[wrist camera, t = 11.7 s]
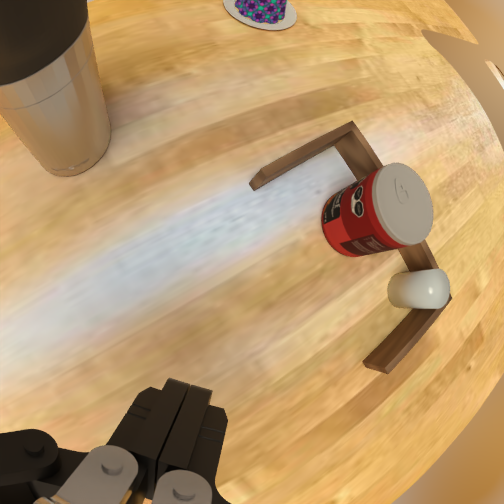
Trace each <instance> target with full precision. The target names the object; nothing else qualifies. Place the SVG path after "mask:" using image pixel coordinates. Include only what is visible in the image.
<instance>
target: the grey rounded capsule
mask: <svg viewBox="0 0 504 504" xmlns="http://www.w3.org/2000/svg"><path fill="white" fill-rule="evenodd" d="M449 294H450V283H449V279H448V277H447V275H446V273H445V272H444V271H443V270H441V269H431V270H422V271H414V272H405V273H398V274H395V275H394V276H393V277H392V278H391V279H390V281H389V284H388V298H389V300H390V302H391V304H392V305H393V306H394V307H396V308H419V309H439V308H442V307H443V306H444V305H445V304H446V303H447V301H448V298H449Z"/></svg>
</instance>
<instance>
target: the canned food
mask: <svg viewBox="0 0 504 504" xmlns="http://www.w3.org/2000/svg"><path fill="white" fill-rule="evenodd" d="M432 224H433V206H432V201H431V197H430V194H429V192H428V189H427V187H426V186H425V184H424V182H423V181H422V179H421V178H420V176H419V175H418V174H417V173H416V172H415V171H414V170H412V169H411V168H410V167H408V166H406V165H404V164H401V163H391V164H388V165H386V166H383V167H381V168H380V169H377V170H376V171H374V172H372V173H370V174H369V175H367V176H365V177H363V178H362V179H360V180H358V181H356V182H355V183H353V184H351V185H350V186H348V187H346V188H344V189H343V190H341V191H339V192H337V193H336V194H334V195H333V196H331V198H330V199H329V200H328V201H327V203H326V205H325V207H324V209H323V213H322V228H323V232H324V234H325V237H326V239H327V241H328V242H329V244H330V245H331V246H332V247H333V248H334V249H335V250H336V251H338V252H339V253H341V254H344V255H346V256H350V257H358V256H363V255H369V254H374V253H379V252H384V251H389V250H394V249H399V248H403V247H407V246H412V245H415V244H417V243H420V242H422V241H423V240H425V238H426V237H427V236H428V235H429V233H430V231H431V227H432Z"/></svg>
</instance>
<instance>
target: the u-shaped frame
mask: <svg viewBox="0 0 504 504" xmlns="http://www.w3.org/2000/svg"><path fill="white" fill-rule="evenodd" d="M333 145H334V146H335V147H336V149H337V150H338V151H339V153H340V154H341V156H342V157H343V159H344V160H345V162H346V163H347V165H348V166H349V168H350V169H351V171H352V172H353V174H354V175H355V177H356V179H357V180H360V179H362V178H363V177H365V176H367V175H369V174H370V173H372V172H374V171H376V170H377V169H380V168H381V167H383V165H382V163H381V162H380V160H379V159H378V157H377V156H376V154H375V153H374V151H373V149H372V148H371V146H370V145H369V143H368V142H367V141H366V139H365V138H364V136H363V135H362V133H361V132H360V130H359V129H358V128H357V126H356V125H355V123H354V122H353V121H351V122H349V123H347V124H345V125H343V126H341V127H339V128H337V129H335V130H333V131H331V132H329V133H327V134H325V135H323V136H321V137H319V138H317V139H315V140H313V141H311V142H309V143H307V144H306V145H304V146H302V147H300V148H298V149H296V150H294V151H292V152H291V153H289V154H287V155H285V156H283V157H281V158H279V159H278V160H276V161H274V162H272V163H270V164H269V165H267V166H265V167H263V168H261V169H260V171H259V172H258V173H257V174H256V175H255V177H254V178H253V179H252V180H251V181H250V183H249V185H250V186H251V187H252V189H253V190H254V191H255V190H256V189H258V188H260V187H262V186H263V185H265V184H267V183H268V182H270V181H272V180H273V179H275V178H277V177H279V176H280V175H282V174H284V173H285V172H287V171H289V170H291V169H292V168H294V167H296V166H298V165H299V164H301V163H303V162H305V161H306V160H308V159H310V158H312V157H313V156H315V155H317V154H319V153H321V152H322V151H324V150H326V149H328V148H330V147H331V146H333ZM398 250H399V252H400V253H401V255H402V257H403V259H404V261H405V263H406V265H407V267H408V269H409V271H410V272H414V271H422V270H431V269H439V267H438V265H437V263H436V261H435V259H434V257H433V255H432V253H431V251H430V249H429V247H428V245H427V243H426V241H425V240H423V241H422V242H420V243H417V244H415V245H412V246H407V247H403V248H399V249H398ZM451 299H452V297H451V294H449V298H448V301H447V303H446V304H445V305H444V306H443V307H442V308H439V309H419V308H413V310H412V311H411V312H410V313H409V314H408V315H407V316H406V317H405V318H404V320H403V321H402V322H401V323H400V324H399V325H398V326H397V327H396V328H395V329H394V330H393V331H392V332H391V334H390V335H389V336H388V337H387V338H386V339H385V340H384V341H383V342H382V343H381V344H380V345H379V346H378V347H377V348H376V349H375V350H374V351H373V352H372V353H371V354H370V355H369V356H368V357H367V358H366V359H365V360H364V361H363V363H364V365H365V367H366V368H369V369H373V370H376V371H379V372H383V373H386V374H389V373H390V372H391V371H392V370H393V369H394V368H395V366H396V365H397V364H398V363H399V362H400V361H401V360H402V359H403V358H404V357H405V356H406V354H407V353H408V352H409V351H410V350H411V349H412V348H413V346H414V345H415V344H416V343H417V342H418V341H419V340H420V338H421V337H422V336H423V335H424V334H425V332H426V331H427V330H428V329H429V327H430V326H431V325H432V324H433V323H434V321H435V320H436V319H437V318H438V316H439V315H440V314H441V312H442V311H443V310H444V309H445V307H446V306H447V305H448V303H449V302H450V301H451Z"/></svg>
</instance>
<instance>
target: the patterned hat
mask: <svg viewBox="0 0 504 504" xmlns="http://www.w3.org/2000/svg"><path fill="white" fill-rule="evenodd" d="M223 2H224V6H225V8H226V10H227V11H228V12H229V13H230V14H231V15H232V16H233V17H235V18H236V19H238V20H239V21H241V22H243V23H245V24H248V25H250V26H253V27H256V28H261V29H267V30H281V29H286V28H288V27H291V26H292V25H293V24H294V23H295V22H296V19H297V14H296V11H295V9H294V7H293V6H292V5H291V3H290V2H288V1H287V0H237V1H236V2H235V0H223ZM234 2H235V6H234ZM235 7H237V8H238V9H239V13H240V14H241V15H240V14H239V13H238V12H237V10H236V9H235ZM242 15H243V16H244V17H243V16H242ZM284 16H285V18H284ZM245 17H249V18H251V19H252V20H253V21H255V22H253V21H251V20H248V19H247V18H245ZM282 19H284V20H283V21H281V22H279V23H277V22H278V20H282ZM256 22H258V23H256ZM263 22H267V23H270V24H261V23H263ZM275 23H277V24H275Z"/></svg>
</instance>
